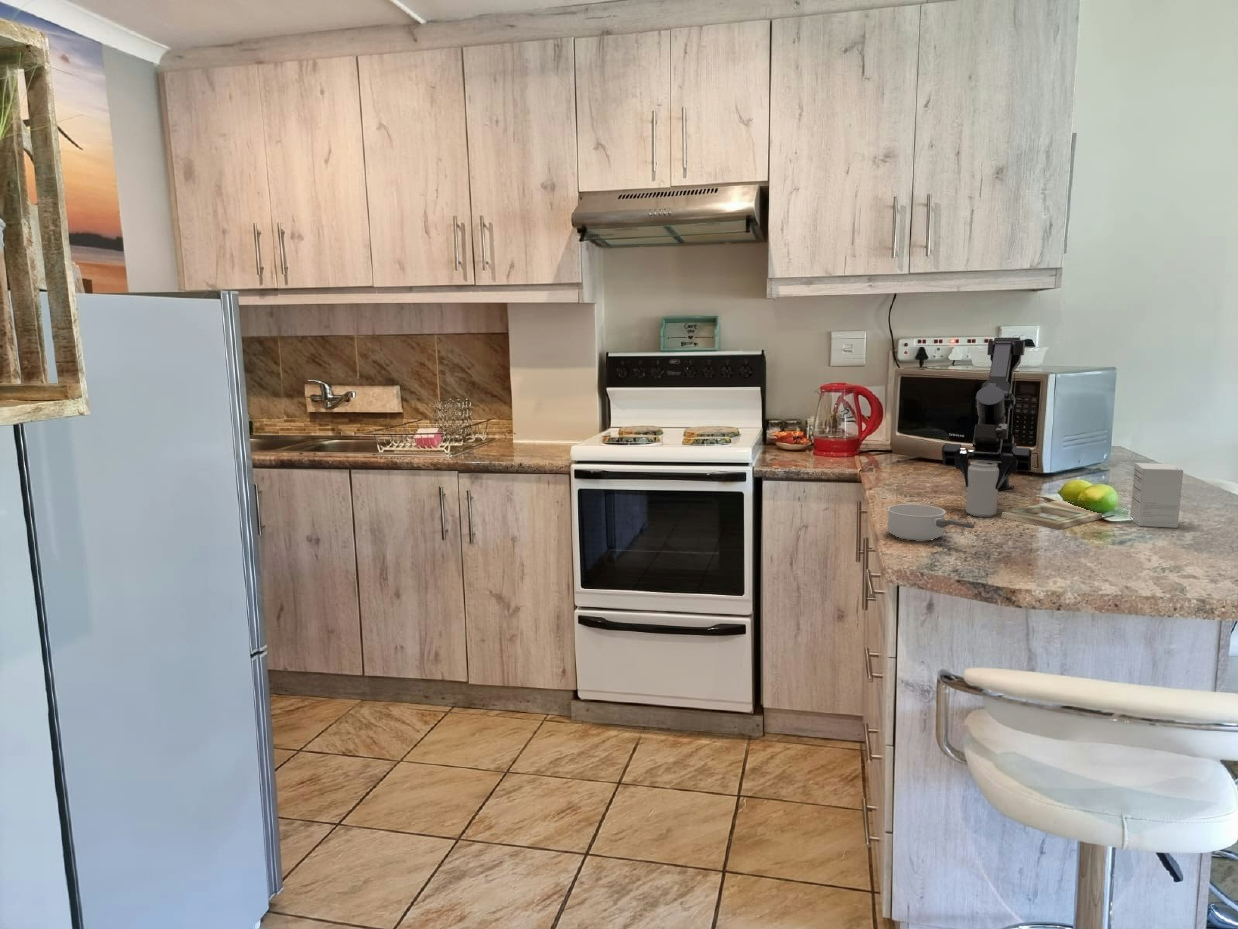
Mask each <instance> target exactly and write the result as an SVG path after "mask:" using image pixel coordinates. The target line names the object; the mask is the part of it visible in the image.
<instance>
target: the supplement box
mask: <svg viewBox="0 0 1238 929" xmlns="http://www.w3.org/2000/svg"><path fill="white" fill-rule="evenodd" d="M1183 475H1184V470H1183V469H1182V468H1181V467H1179V466H1177V465H1175V464H1173V463H1149V462H1148V463H1147V462H1146V463H1144V462H1135V463H1134V468H1133V480H1132V490H1131V491H1132V493H1131V504H1130V515H1129V518H1130V517H1132V518H1133V520H1132V521H1133V522H1134V524H1136V525H1137V526H1138V527H1152V528H1173V529H1174V528H1175V529H1177V528H1179V518H1180V509H1181V508H1180V506H1181V498H1182V497H1181V495H1182V488H1183V487H1182V486H1183V477H1184V476H1183Z"/></svg>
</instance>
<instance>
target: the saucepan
mask: <svg viewBox="0 0 1238 929" xmlns="http://www.w3.org/2000/svg"><path fill="white" fill-rule="evenodd" d="M886 510H887V511H888V521H887V523H888V524H887V531H888V533H889V534H891V535H893V536H894V535H895V536H896V537H895V536H894V537H895V538H897V537H899V538H898V539H900V538H903V539H907V540H906V541H909V540H916V541H915V542H926V541H925V540H931V539H935V538H936V539H937V538H940V537H942V536H943V535H944V528H947V527H948V526H950V525H952V526H956V527H962V528H967V529H972V530H973V529H974V528H975V527H976V526H975V524H974V523H969V522H964V521H959V520H955V519H945V514H946V513H947V511H946V510H945V509H943V508H941V507H938V506H932V505H928V504H917V503H916V504H915V503H901V504H893V505H889V506H888V507H887V508H886ZM903 539H902V540H903ZM936 539H935V540H936ZM931 541H932V540H931Z"/></svg>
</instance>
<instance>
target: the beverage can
mask: <svg viewBox="0 0 1238 929" xmlns="http://www.w3.org/2000/svg"><path fill="white" fill-rule="evenodd" d="M997 465H998V464H997V463H995V462H988V461H975V460H974V461H973V460H972V461H970V464H969V467H968V487H966V498H965V499H966V500H965V501H966V502H965V511H966V513H968V515H969V514H970V516H972V515H973V517H976V516H977V517H979V518H991V517H993V516H994V515H996V514H997V511H998V510H997V509H998V507H997V506H998V496H999V495H998V494H999V493H998V492H999V490H997V489H996V483H997V480H998V476H999V468H998V467H997Z"/></svg>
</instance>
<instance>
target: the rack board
mask: <svg viewBox="0 0 1238 929" xmlns="http://www.w3.org/2000/svg"><path fill="white" fill-rule="evenodd" d="M1068 502H1069V501H1066V500H1065V501H1064V500H1060V499H1057V500H1053V501H1052V500H1051V501H1048V502H1044V503H1038V504H1034V505H1028V506H1026V507H1022V508H1020V507H1019V508H1017V509H1011V510H1008V511H1003V512H1001V519H1005V518H1006V519H1007V520H1011V521H1015V520H1016V521H1015V522H1020V523H1023V524H1024V523H1025V524H1029V525H1034V524H1035V526H1039V527H1044V528H1049V527H1050V529H1053V530H1054V529H1055V530H1062V529H1067V528H1071V527H1074V526H1079V525H1082V524H1086V523H1090V522H1094V521H1097V520H1101V517H1102V513H1097V512H1093V511H1090V510H1086V509H1084V508H1081V507H1078V506H1074V505H1072V504H1070V503H1068ZM1035 513H1036V514H1035ZM1040 513H1044V514H1048V513H1049V514H1048V515H1054V516H1059V517H1063V518H1054V517H1053V518H1052V517H1050V516H1049V517H1048V516H1042V515H1037V514H1040ZM1006 519H1005V520H1006Z"/></svg>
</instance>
